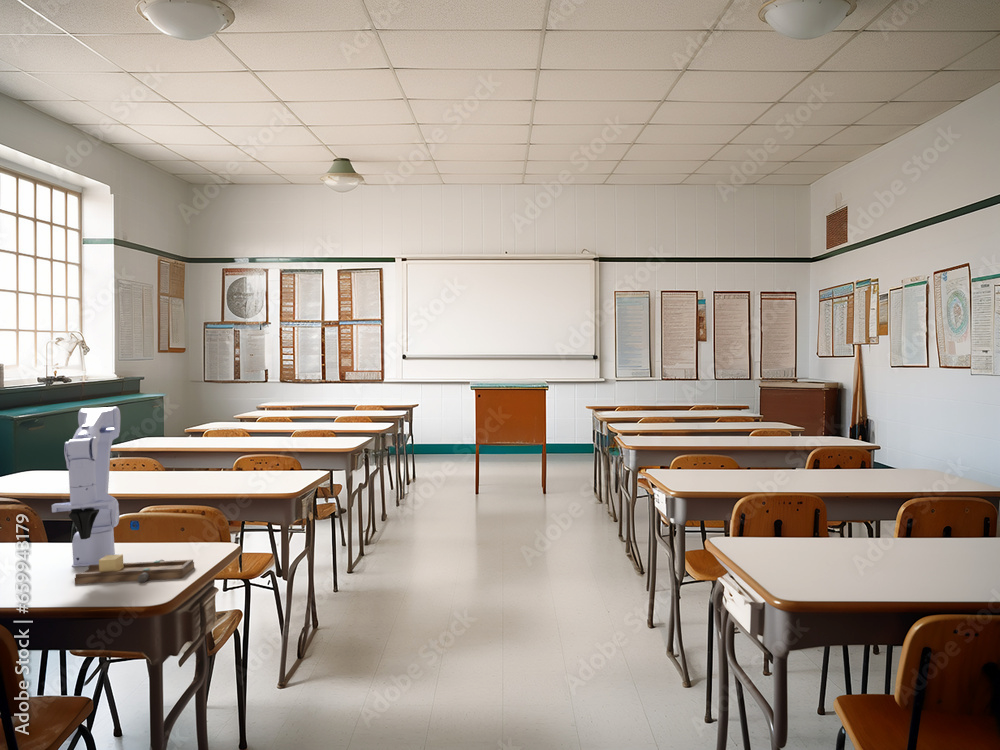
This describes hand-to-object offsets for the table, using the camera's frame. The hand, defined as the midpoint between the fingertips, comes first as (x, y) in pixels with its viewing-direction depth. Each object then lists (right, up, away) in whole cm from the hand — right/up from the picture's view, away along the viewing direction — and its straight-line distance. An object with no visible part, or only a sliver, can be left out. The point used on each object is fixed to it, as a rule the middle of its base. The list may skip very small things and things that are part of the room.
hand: (85, 538), depth 167 cm
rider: (+6, -9, +1) cm, 11 cm away
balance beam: (+12, -10, +2) cm, 16 cm away
